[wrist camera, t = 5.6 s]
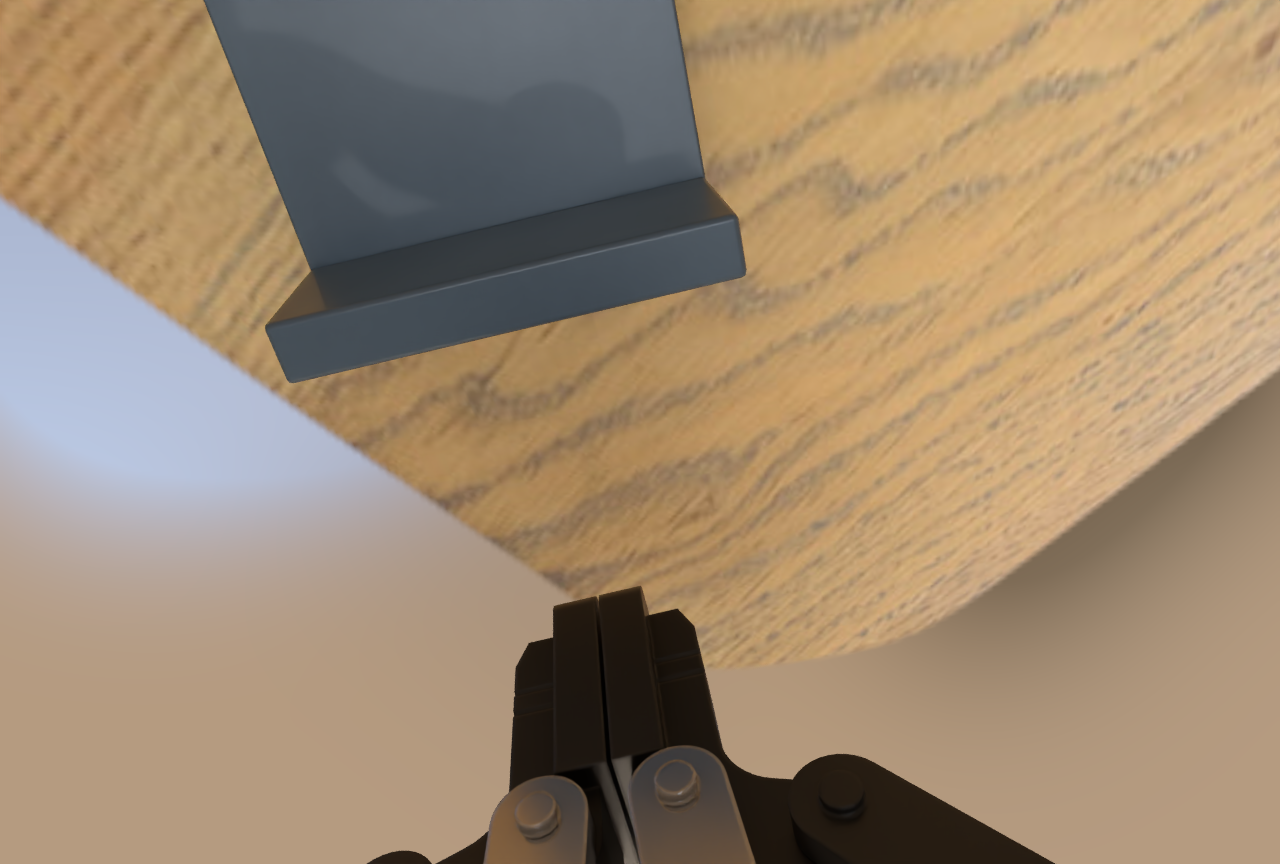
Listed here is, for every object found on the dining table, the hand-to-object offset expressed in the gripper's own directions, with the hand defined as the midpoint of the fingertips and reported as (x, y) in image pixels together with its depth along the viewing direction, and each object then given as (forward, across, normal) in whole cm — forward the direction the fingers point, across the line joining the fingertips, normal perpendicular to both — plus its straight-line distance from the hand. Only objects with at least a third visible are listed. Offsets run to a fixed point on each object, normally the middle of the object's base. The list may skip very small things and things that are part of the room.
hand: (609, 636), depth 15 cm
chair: (+9, 0, -9) cm, 12 cm away
